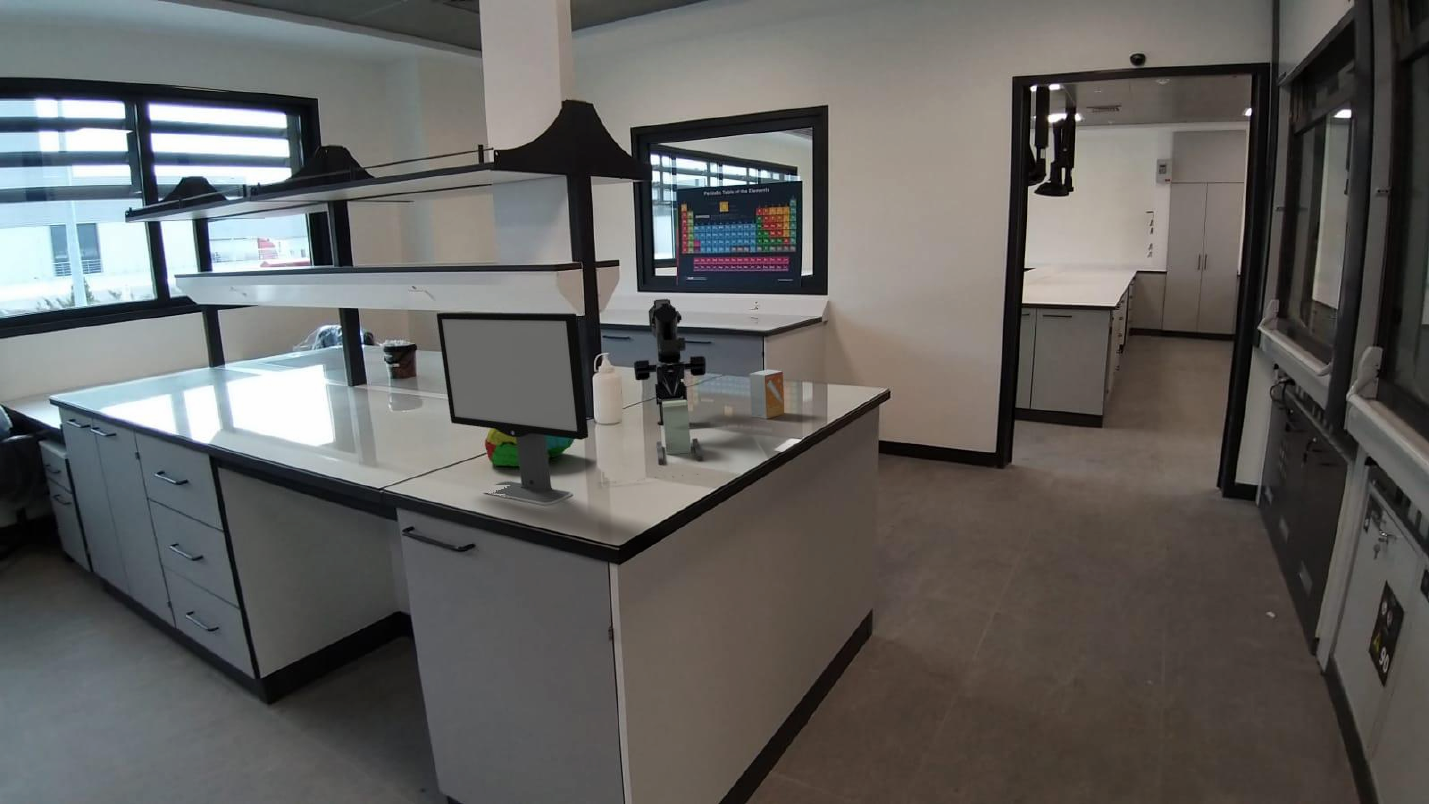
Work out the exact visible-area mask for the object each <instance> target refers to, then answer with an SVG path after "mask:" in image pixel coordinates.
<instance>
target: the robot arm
mask: <svg viewBox="0 0 1429 804" xmlns="http://www.w3.org/2000/svg"><path fill="white" fill-rule="evenodd" d="M648 320H649V322H648V323H649V328H650V329H651V331H652V336H653V337H654V338H655V339H656V349H657V358H658V362H656V363H655V364H650V360H649V359H642V360H641V359H639V360H635V361H634V363H633V367H634V369H633V370H634V376H635V377H634V379H635V380H636V381H648V380H649V379H650V378H651V375H650V374H656V383H655V384H654V389H655V403H656V406H657V405H658V407H659V408H658V409H659V417H660V418H659V420H660V421H657V423H656V424H657V425H663V426H664V419H663V406H662V402H665V401H677V400H686V401H687V402H688V389H687V388H688V387H687V386H686V385H685V382H684V381H682V380H684V379H685V371H687V370H689V371H690V375H691V376H693V377H697V376H698V377H701V376H705V375H706V368H707V367H706V366H707V365H706V363H707V362H706V357H705V356H704V355H693V356H689V361H681V359H682V358H681V357H682V356H681V352H684V351H686V348H687V347H686V339H685V337H684V336H683V337H678V325H679V324H680V322H681V321H682V320H683V319H682V315H681V314H680V312H679V310H677V309H676V307H675V306H673V305H672V304H671V299H668V298H662V299H655V300H653V305H652V306H651V307H650V309H649V310H648Z"/></svg>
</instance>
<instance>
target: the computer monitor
mask: <svg viewBox="0 0 1429 804" xmlns="http://www.w3.org/2000/svg"><path fill="white" fill-rule="evenodd" d="M436 321H437V329H438V336H439V341H440V342H439V343H440V349H441V356H442V357H441V359H442V364H443V371H444V380H445V387H446V394H447V401H448V409H449V415H450V421H451V424H454V425H463V426H471V427H479V428H487V429H491V428H493V429H497V430H498V431H500V432H501V433H503V434H505V435H508V436H511V437H516V442H517V450H518V459H519V466H518V467H519V474H520V481H516V480H505V481H504V480H503V481H500V482H496V483H493V485H510V486H507V488H505V487H504V489H501V490H498V491H497V490H496V492H495V493H494V492H493V493H491V494H505V495H501V496H505V497H509V498H513V499H512V500H514V499H516V500H515V501H519V500H521V501H520V502H525V503H529V502H531V503H530V504H534V503H535V505H538V506H539V505H540V506H550V505H551V506H552V505H554V504H556V503H559V502H561V501H563V500H566V499H568V498H570V497H572V496H573V492H572V491H569V490H566V489H565V490H564V489H558V488H554V487H552V482H551V474H550V473H551V472H550V465H549V460H548V454H547V445H546V436H545V435H548V436H555V437H563V438H571V439H574V440H581V441H582V440H585V439H587V438H589V428H588V419H587V411H586V409H587V408H586V407H587V406H586V400H585V399H586V398H585V389H584V388H585V387H584V378H583V377H584V376H583V367H582V358H581V347H580V346H581V345H580V337H579V328H578V318H577V314H576V313H572V312H571V313H570V312H569V313H568V312H567V313H565V312H564V313H563V312H562V313H561V312H560V313H559V312H558V313H557V312H556V313H555V312H545V313H544V312H539V313H538V312H447V311H446V312H445V311H443V312H438V313H436Z"/></svg>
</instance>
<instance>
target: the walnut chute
mask: <svg viewBox="0 0 1429 804" xmlns="http://www.w3.org/2000/svg"><path fill="white" fill-rule="evenodd" d="M698 440H699V439H698V437H696V438H692V440H691V441H692V445H693V449H694V453H695V456H696V461H697V462H703V460H704V459H703V453H702V450H701V447H700V443H699V441H698ZM662 446H663V445H662V441H656V449H657V450H656V452H657V460H658V466H661V465H664V454H663V447H662Z"/></svg>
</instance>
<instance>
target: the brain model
mask: <svg viewBox="0 0 1429 804" xmlns="http://www.w3.org/2000/svg"><path fill="white" fill-rule="evenodd" d="M545 436H546V445H547V454H548V461H549V460H550V458H556V457H557V456H560V455H561V454H563V453H564V452H565V451H566V450H567V449H569V448H570V447H571V446H572V445H573V443H574V441H575V439H571V438H563V437H555V436H548V435H545ZM484 447H485V450H486V452H487V457H488V460H489V461H490V463H492V464H493V465H494V466H504V467H508V466H510V467H519V459H518V450H517V442H516V437H511V436H508V435H505V434H503V433H501V432H500V431H498V430H497V429H493V428H489V430H488V432H487V435H486V437H485V440H484Z"/></svg>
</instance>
